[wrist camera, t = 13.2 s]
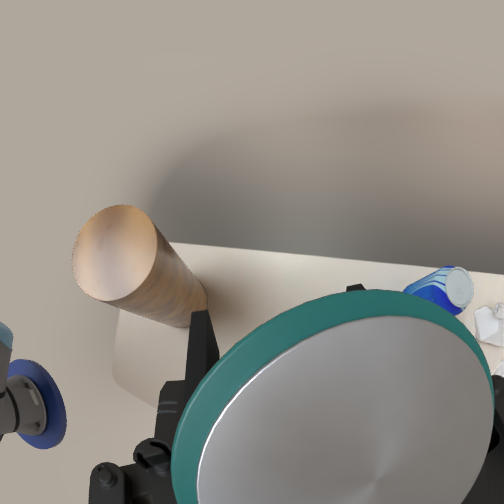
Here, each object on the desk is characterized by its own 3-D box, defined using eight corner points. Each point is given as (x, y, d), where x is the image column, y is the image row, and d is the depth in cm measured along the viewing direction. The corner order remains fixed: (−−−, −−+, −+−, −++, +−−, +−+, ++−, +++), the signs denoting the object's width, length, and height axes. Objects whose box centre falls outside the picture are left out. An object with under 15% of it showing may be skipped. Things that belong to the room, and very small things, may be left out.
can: (252, 429, 18) (246, 612, 2) (223, 352, 20) (104, 360, 4) (332, 400, 19) (510, 483, 2) (305, 324, 21) (458, 232, 4)
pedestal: (163, 333, 49) (77, 312, 23) (151, 284, 53) (69, 224, 26) (214, 318, 50) (168, 283, 24) (198, 268, 54) (148, 191, 27)
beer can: (390, 309, 50) (434, 292, 35) (408, 277, 52) (452, 251, 37) (417, 333, 48) (466, 323, 33) (435, 300, 50) (482, 281, 35)
